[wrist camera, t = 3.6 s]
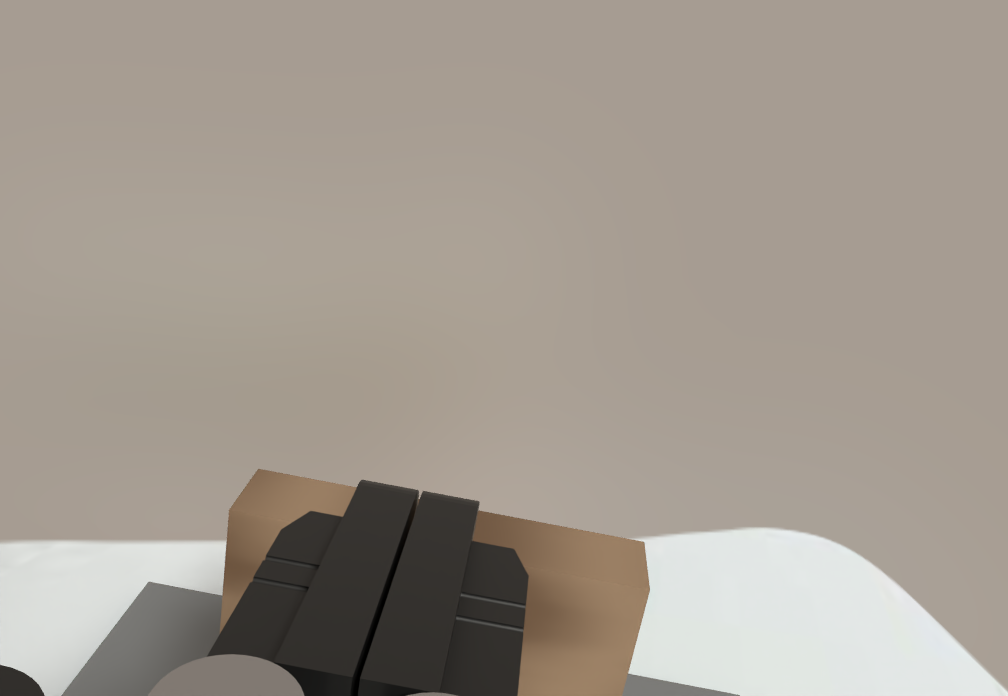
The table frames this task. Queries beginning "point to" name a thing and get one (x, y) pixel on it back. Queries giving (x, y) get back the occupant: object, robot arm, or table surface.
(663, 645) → the table surface
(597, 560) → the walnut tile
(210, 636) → the charcoal mat
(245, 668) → the robot arm
